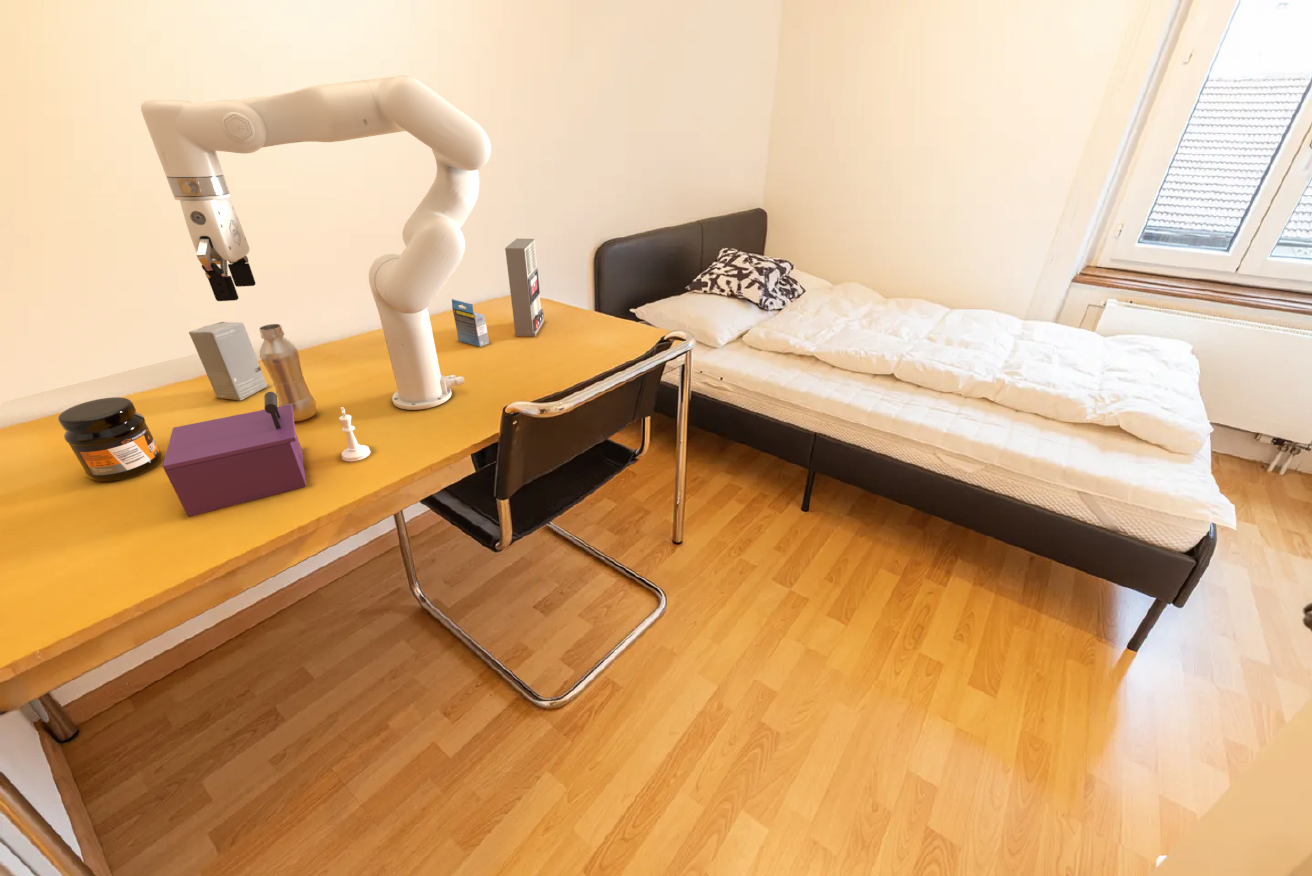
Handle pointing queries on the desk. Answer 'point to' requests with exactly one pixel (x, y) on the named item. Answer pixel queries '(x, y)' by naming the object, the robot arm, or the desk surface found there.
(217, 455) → the lid
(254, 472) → the box
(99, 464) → the supplement container
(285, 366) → the plastic bottle
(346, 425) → the chess piece
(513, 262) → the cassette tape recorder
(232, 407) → the desk surface
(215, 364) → the cosmetic box
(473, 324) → the label tape box
